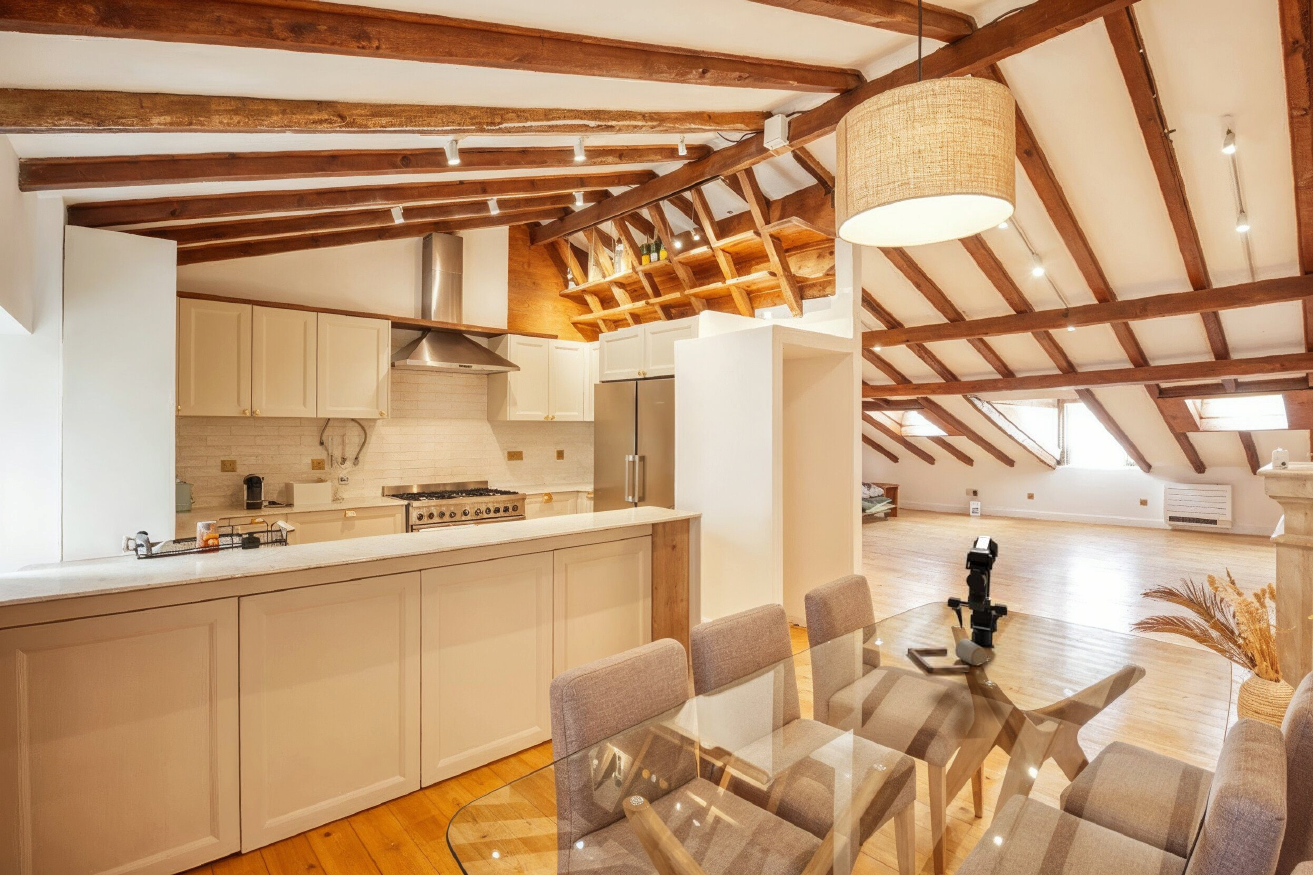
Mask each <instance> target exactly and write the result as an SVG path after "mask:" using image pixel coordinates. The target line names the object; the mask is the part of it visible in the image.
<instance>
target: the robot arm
mask: <svg viewBox="0 0 1313 875" xmlns="http://www.w3.org/2000/svg"><path fill="white" fill-rule="evenodd" d="M972 544H973V546H972V547H971V548H970V549H969V552H967V553H966V554H967V555H966V562H965V570H970V571H969V574H968V575H967V577H966V580H965V582H966V585H967V586H968V595H967V601H965V600H964V601H963V600H961V598H960V597H955V596H950V597H948V598H947V606H946V607H949V608H950V609H951V610H952V611H954V613H955V614H956V616H957V620H958V624H959V626H960V628H961V629H963V610H962V607H965V608H968V609H969V610H970V611H972V612H971V613H970V617H969V619H970V621H969V622H970V623H969V624H970V626H969V627H970V629H971V630H972V631H971V639H969V640H970V641H972V642H973V643H975V644H977V645H979V646H980V647H982V648H995V647H994V646H995V645H994V644H993V636H994V633H997V632H998V620H999V619H1000V618H1003V617H1004V616H1008V606H1007V605H1006V604H1001V603H994V605H991V604H992V603H991V601H992V597H991V596H990V595H991V580H992V579H991V577H992V576H991V573H992V571H993V569H994V568H993V567H994V564H995V563H996V561H997V558H998V557H999V544H998V543H997V542H996V541H994V540H993V537H991V536H986V535H978V536H977V537H976V539H975V540H974V541H973V543H972Z"/></svg>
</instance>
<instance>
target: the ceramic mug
mask: <svg viewBox="0 0 1313 875" xmlns="http://www.w3.org/2000/svg"><path fill="white" fill-rule="evenodd" d="M970 640H971V639H968V638H962V639H960V640H959V641H958V642H957V644H956V646H955V649H954V653H955V655H956V657H957V658H958V659H960V660H962V661H964V662H966V663H968V664H969V665H971V664H973V665H972V666H974V665H977V664H979V663H983V662H984V663H986V662H985V661H987V660H988V661H989V657H987V651H986V650H985V648H984V647H980V646H979V645H977V644H975V643H973V642H972V641H970ZM984 663H983V664H984Z"/></svg>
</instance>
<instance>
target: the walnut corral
mask: <svg viewBox="0 0 1313 875" xmlns="http://www.w3.org/2000/svg"><path fill="white" fill-rule="evenodd" d="M908 653H909V654H910V655H911V656H910V655H909V654H908ZM907 654H908V655H909V656H910V657H911V659H913V660H914V661H915V662H916V663H917V664H918V665H919V666H920V667H921V668H922V669H923V670H924V671H926V673H928V674H929V675H930V674H959V673H960V672H965V671H969V672H970V666H969V665H967V664H965V665H964V664H959V665H958V664H957V665H931V664H929V662H927V661H926V660H925V659H924V658H923V657H922V656H924V655H925V656H926V655H930V656H931V655H948V647H945V646H943V647H942V646H941V647H909V648H907ZM960 674H961V673H960Z"/></svg>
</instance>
